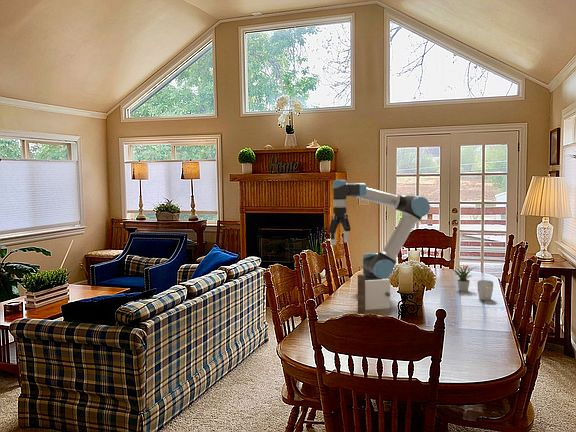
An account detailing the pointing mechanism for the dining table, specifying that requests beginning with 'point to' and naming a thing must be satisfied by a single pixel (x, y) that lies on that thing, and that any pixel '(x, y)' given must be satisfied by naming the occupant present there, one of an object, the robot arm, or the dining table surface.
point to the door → (377, 294)
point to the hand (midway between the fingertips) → (339, 243)
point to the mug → (485, 289)
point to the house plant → (463, 278)
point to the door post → (361, 293)
